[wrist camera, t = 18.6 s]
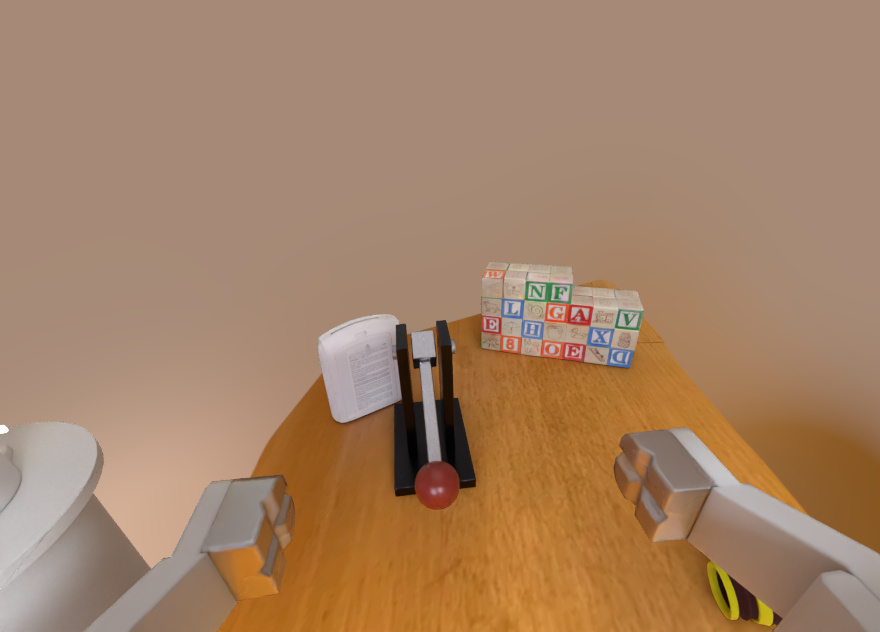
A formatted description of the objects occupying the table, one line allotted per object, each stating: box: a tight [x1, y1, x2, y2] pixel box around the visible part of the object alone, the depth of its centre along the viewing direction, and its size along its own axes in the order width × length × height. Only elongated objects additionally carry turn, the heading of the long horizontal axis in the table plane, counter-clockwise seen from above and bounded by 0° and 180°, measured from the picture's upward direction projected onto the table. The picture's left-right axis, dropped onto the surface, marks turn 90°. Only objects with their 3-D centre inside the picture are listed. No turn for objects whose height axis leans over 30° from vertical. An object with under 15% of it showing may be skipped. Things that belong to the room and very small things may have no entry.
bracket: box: [392, 320, 476, 496], centre depth 39 cm, size 12×8×15 cm, turn 6°
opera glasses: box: [707, 561, 783, 626], centre depth 29 cm, size 10×5×5 cm, turn 163°
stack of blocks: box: [481, 262, 644, 368], centre depth 55 cm, size 21×6×12 cm, turn 72°
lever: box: [411, 330, 460, 510], centre depth 33 cm, size 15×4×4 cm, turn 7°
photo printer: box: [318, 314, 402, 423], centre depth 46 cm, size 10×4×12 cm, turn 121°
